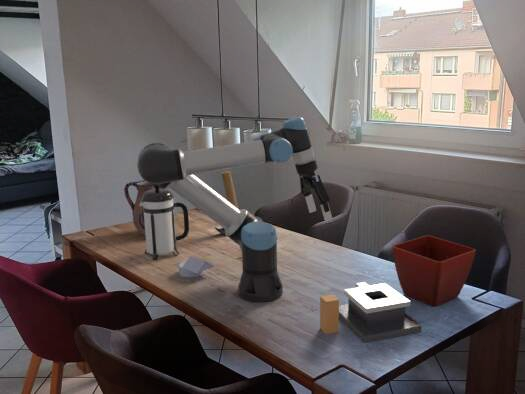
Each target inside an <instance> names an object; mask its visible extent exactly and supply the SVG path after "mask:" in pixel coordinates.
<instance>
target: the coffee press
mask: <svg viewBox="0 0 525 394" xmlns="http://www.w3.org/2000/svg"><path fill="white" fill-rule="evenodd" d="M154 188H155V189H152V190H149V191H146V192H145V193H144V194H143V197H142V200H141V202H140V205H139V206H143V212H144V222H145V235H144V236H145V242H146V243H145V244H146V248H145V250H144V254H145V255H148V254H150V255H152V261H157V260H158V257H159V256H165V255H170V254H173V255H174V256H175V257H178V255H180V252H179V251H178V249H177V242H178V241H181V240H184V239H185V238H186V237H187V236H188V235H189V233H190V231H189V230H190V225H189V224H190V223H189V221H190V220H189V210H188V208H187V206H186V205H185V204H184V203H182V202H174V197H175V195H174V194H173V192H172V191H171V190H170V189H159V188H160V186H159V185H158V184H155V185H154ZM175 208H181V209H182V212H183V227H184V231H183V233H182V234H180V235H176V228H175Z"/></svg>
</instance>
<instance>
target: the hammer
mask: <svg viewBox="0 0 525 394" xmlns="http://www.w3.org/2000/svg"><path fill="white" fill-rule="evenodd" d="M221 177H222V182H223V187H224V191H225V196H226V200H227V201H229V202H230V203H231V204H233V205H234V206H235V207H237V208H238V209H239V204H238V201H237V196H236V192H235V186H234V181H233V178H232V172H231V171H230V170H224V171H221ZM214 229H215V230H216V231H217V232H218V233H219V234H221V235H223V236H226V235H225V229H224V228H223V227H221V228H217V227H215V226H214ZM226 237H227V236H226Z"/></svg>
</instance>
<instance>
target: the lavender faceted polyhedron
mask: <svg viewBox="0 0 525 394" xmlns="http://www.w3.org/2000/svg"><path fill="white" fill-rule="evenodd" d="M214 267H215V265H214V264H212V263H211V262H208V261H207V260H204V259H201V258H198V257H196V256H195V257H194V256H192V255H190V256H189V257H188V259H186V260H185V261H181V262H180V263H179V264H178V273H179V276H180V277H183V278H194V277H195V276H196V277H200V276H201V274H202V275H203V274H204V272H205V271H206V270H209V269H212V268H214ZM199 275H200V276H199ZM196 277H195V278H196Z"/></svg>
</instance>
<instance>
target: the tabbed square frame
mask: <svg viewBox="0 0 525 394" xmlns="http://www.w3.org/2000/svg"><path fill="white" fill-rule="evenodd" d="M343 294H344V296H345V297H346V298H347V299H348V303H345V304H339V319H340V321H342V322H343V323H344V324H345V326H347V327H348V328H349V329H350V330H351V331H352V332H353V333H354V334H355V335H356V336H357V337H358V338H359V339H360V340H361V341H362V342H363V343H370V342H374V341H375V342H376V341H381V340H382V341H383V340H386V339H391V338H396V337H401V336H403V337H404V336H407V335H412V334H417V333H422V324H421V323H419V322H418V321H416V320H415V319H414V318H413V317H411V316H410V315H409V314H407V313H406V307H407V308H408V307H411V300H409V299H408V298H407V297H405V296H404V295H403V294H401V293H400V292H398V291H397V290H395V289H394V288H393V287H391V286H390V285H389V284H387V283H386V282H384V283H378V284H377V283H376V284H372V285H370V284H368V283H366V282H365V281H363V282H356V283H355V287H351V288H344V289H343Z"/></svg>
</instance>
